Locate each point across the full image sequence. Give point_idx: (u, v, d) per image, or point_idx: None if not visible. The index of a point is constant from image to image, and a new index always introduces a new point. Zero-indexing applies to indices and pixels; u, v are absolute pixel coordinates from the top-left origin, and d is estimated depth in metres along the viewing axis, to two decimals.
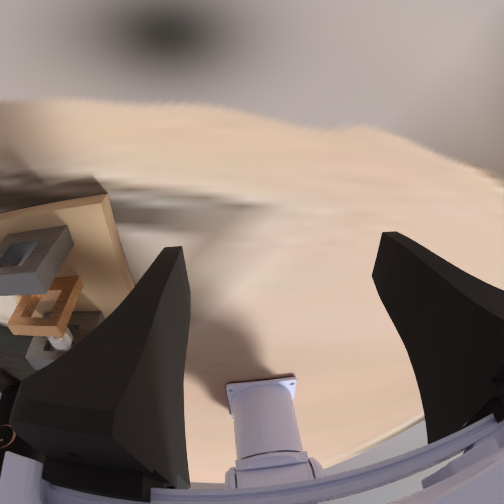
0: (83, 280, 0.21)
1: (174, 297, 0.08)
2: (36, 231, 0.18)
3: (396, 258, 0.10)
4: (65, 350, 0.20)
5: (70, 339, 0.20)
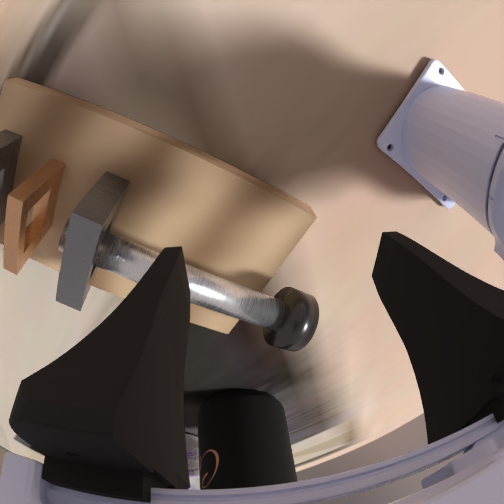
0: (60, 158, 0.15)
1: (174, 297, 0.08)
2: None
3: (396, 258, 0.10)
4: None
5: None
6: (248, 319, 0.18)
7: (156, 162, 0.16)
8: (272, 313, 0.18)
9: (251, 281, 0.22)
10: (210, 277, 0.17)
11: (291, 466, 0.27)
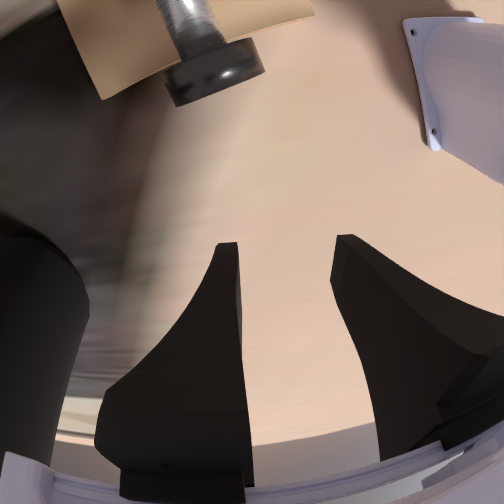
0: None
1: (238, 293, 0.09)
2: None
3: (348, 263, 0.09)
4: None
5: None
6: (176, 8, 0.09)
7: None
8: (209, 24, 0.09)
9: None
10: None
11: (58, 392, 0.15)
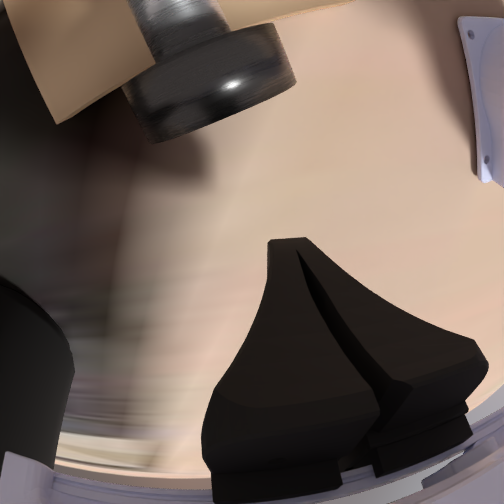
0: None
1: None
2: None
3: None
4: None
5: None
6: None
7: None
8: (202, 0, 0.05)
9: None
10: None
11: None
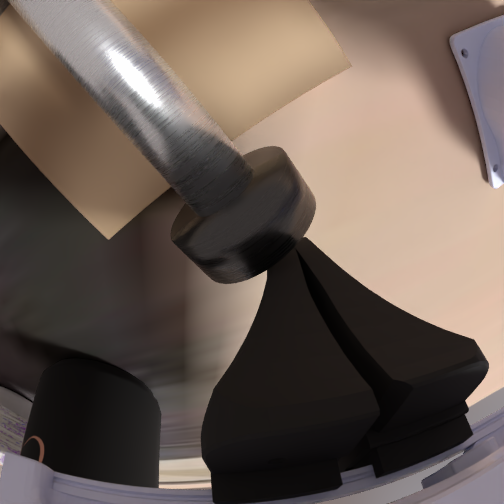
0: None
1: None
2: None
3: None
4: None
5: None
6: (157, 143, 0.07)
7: None
8: (218, 155, 0.07)
9: None
10: (129, 21, 0.06)
11: None
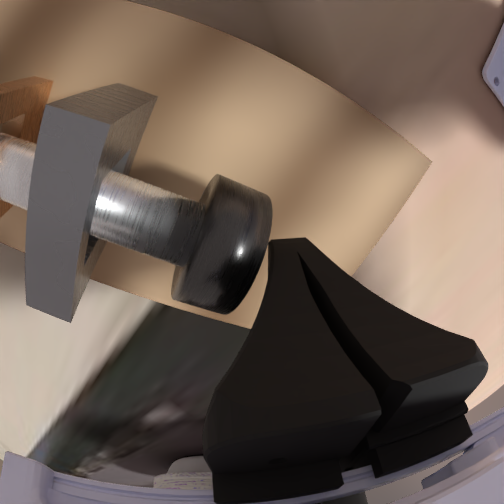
0: (45, 74, 0.08)
1: None
2: None
3: None
4: None
5: None
6: (110, 233, 0.08)
7: (205, 63, 0.09)
8: (161, 217, 0.08)
9: (341, 260, 0.14)
10: None
11: (363, 492, 0.19)
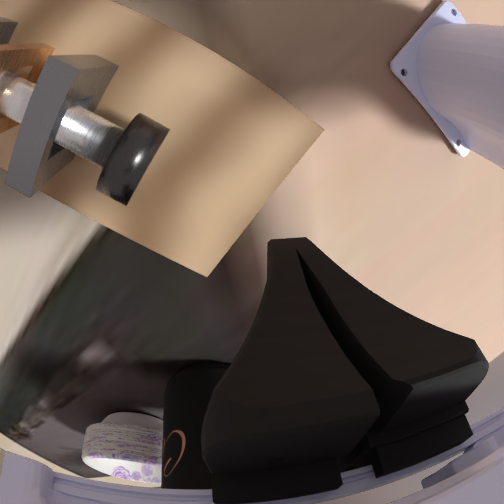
0: (50, 42, 0.11)
1: None
2: None
3: None
4: None
5: None
6: (67, 139, 0.11)
7: (152, 46, 0.12)
8: (98, 132, 0.11)
9: (242, 203, 0.18)
10: None
11: None
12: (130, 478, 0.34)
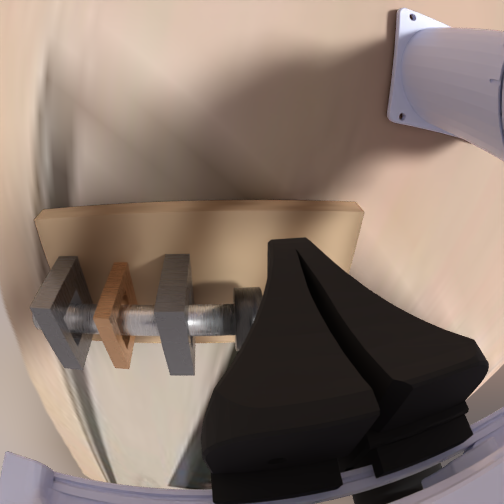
0: (120, 260, 0.19)
1: None
2: None
3: None
4: None
5: None
6: (198, 334, 0.18)
7: (204, 230, 0.19)
8: (217, 321, 0.18)
9: None
10: (147, 309, 0.18)
11: None
12: None
